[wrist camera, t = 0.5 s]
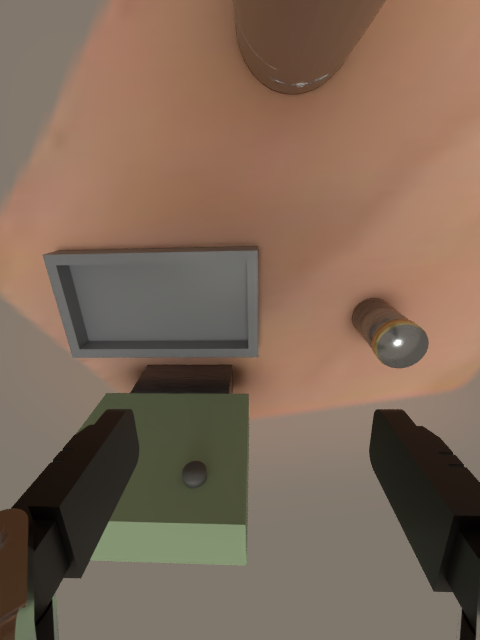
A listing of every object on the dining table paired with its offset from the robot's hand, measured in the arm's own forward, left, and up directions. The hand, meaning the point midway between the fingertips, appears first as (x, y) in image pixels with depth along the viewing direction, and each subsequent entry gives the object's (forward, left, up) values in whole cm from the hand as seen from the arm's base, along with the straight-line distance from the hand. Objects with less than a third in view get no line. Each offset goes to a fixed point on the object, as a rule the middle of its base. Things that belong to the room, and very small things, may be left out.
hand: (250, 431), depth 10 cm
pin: (+5, +13, -21) cm, 25 cm away
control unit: (+12, -7, -21) cm, 26 cm away
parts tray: (+3, -9, -21) cm, 23 cm away
